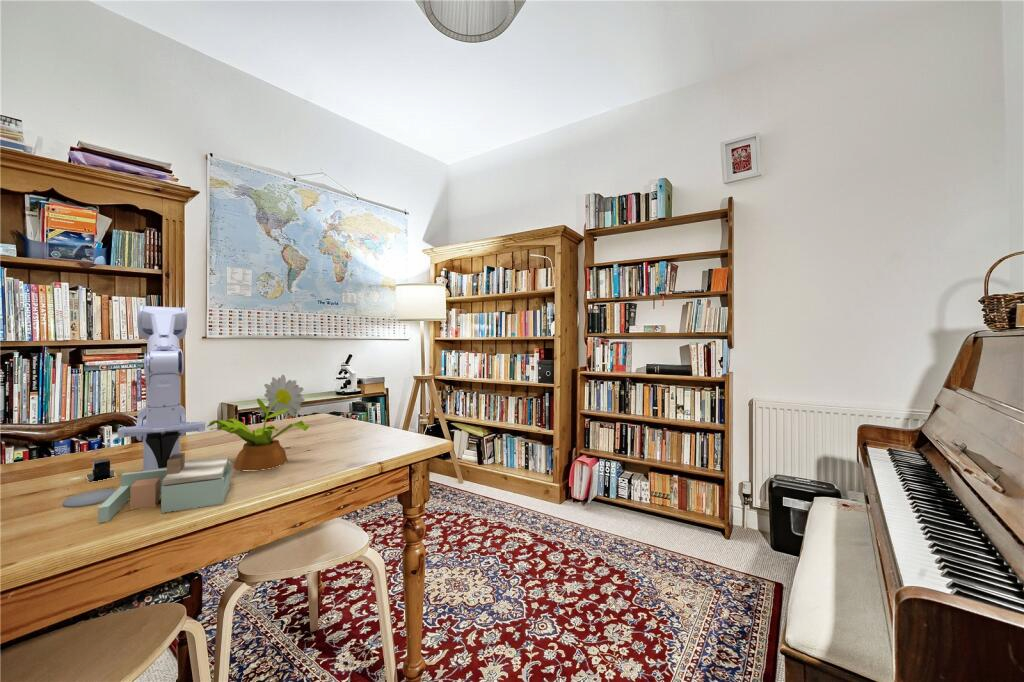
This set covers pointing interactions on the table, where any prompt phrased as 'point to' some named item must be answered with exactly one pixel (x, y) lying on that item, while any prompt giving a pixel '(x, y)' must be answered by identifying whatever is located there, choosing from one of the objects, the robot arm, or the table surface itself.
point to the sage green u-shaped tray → (169, 492)
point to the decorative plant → (259, 443)
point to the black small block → (101, 470)
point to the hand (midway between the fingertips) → (163, 466)
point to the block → (145, 493)
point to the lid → (193, 469)
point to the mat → (88, 498)
